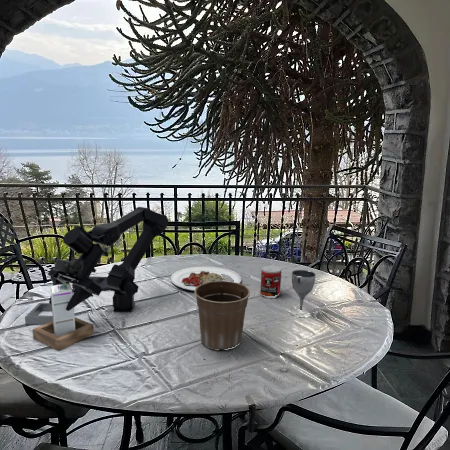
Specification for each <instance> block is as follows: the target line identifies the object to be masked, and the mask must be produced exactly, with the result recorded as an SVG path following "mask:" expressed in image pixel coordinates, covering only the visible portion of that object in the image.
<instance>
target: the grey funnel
mask: <svg viewBox="0 0 450 450" xmlns="http://www.w3.org/2000/svg"><path fill="white" fill-rule="evenodd" d="M315 282H316V273H315V272H313V271H311V270H308V269H294V270H293V271H292V272H291V284H292V285H291V286H292V289H293V290H294V292H295V293H296V294H297V295H298V297H299V305H300V306H299V309H300V310H303V305H304V300H305V298H306V297H307V296H308V295H309V294H310V293H312V291H313V290H314V286H315Z"/></svg>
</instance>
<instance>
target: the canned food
mask: <svg viewBox="0 0 450 450" xmlns="http://www.w3.org/2000/svg"><path fill="white" fill-rule="evenodd" d="M281 280H282V268H281V267H279V266H278V265H264V266H262V267H261V272H260V289H259V290H260V295H261V294H262V295H265V296H275V295H278V294H279V293H280V294H281V284H282V281H281Z"/></svg>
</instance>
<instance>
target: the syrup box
mask: <svg viewBox="0 0 450 450" xmlns="http://www.w3.org/2000/svg"><path fill="white" fill-rule="evenodd" d="M49 287H50V297H51V301H52V311H51V312H52V316H53V324H54V332H53V333H54V335H56V336H58V337H61V336H63V335H66V334H68V333H70V332H72V331H74V330H75V318H76V317H75V307H74V308H72V309H71V310H69V311H67V310H66V307H67V305H68V303H69V301H70V299H71V298H72V296H73V294H74V293H73V291H72V284H71V283H69V284H59V285H54V286H53V285H50V286H49Z"/></svg>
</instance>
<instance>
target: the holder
mask: <svg viewBox="0 0 450 450" xmlns="http://www.w3.org/2000/svg"><path fill="white" fill-rule="evenodd" d="M41 312H52V305H51V304H50V303H49V302H38V303H37V305H35V306H34V307H33V308H32V310H30V312H28V314H26V316H24V321H25V325H44V324H46V323H49V322H51V321H53V315H39V314H40V313H41Z"/></svg>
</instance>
